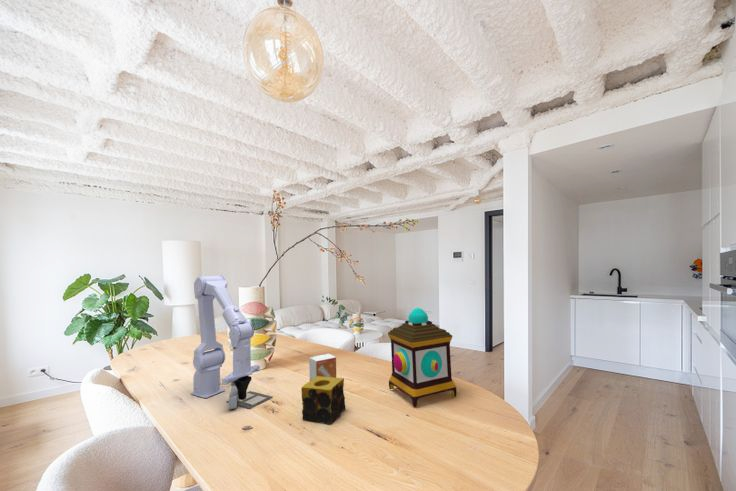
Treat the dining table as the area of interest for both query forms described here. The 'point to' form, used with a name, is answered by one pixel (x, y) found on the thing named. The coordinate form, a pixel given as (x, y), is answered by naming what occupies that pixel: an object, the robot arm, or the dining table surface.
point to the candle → (323, 399)
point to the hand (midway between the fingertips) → (242, 399)
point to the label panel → (252, 400)
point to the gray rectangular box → (233, 397)
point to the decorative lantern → (421, 358)
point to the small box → (322, 366)
